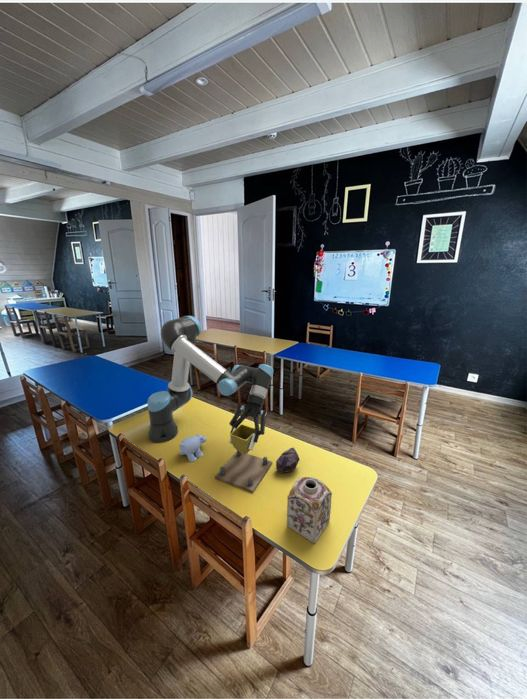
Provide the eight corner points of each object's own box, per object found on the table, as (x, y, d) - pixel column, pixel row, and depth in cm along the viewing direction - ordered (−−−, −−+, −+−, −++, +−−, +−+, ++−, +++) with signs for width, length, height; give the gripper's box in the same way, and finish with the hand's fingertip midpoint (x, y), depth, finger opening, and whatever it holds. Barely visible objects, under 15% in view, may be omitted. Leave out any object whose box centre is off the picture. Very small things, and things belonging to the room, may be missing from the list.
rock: (273, 471, 128) (291, 481, 122) (271, 457, 125) (289, 467, 119) (289, 455, 136) (306, 464, 130) (287, 441, 133) (305, 450, 126)
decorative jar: (330, 521, 103) (334, 481, 97) (315, 545, 94) (318, 503, 88) (302, 504, 110) (303, 466, 104) (285, 525, 101) (286, 485, 95)
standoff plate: (214, 478, 123) (214, 470, 122) (237, 452, 139) (237, 445, 138) (253, 493, 115) (252, 484, 114) (272, 463, 131) (272, 456, 130)
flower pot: (246, 458, 118) (246, 440, 115) (230, 451, 122) (229, 434, 120) (258, 447, 125) (257, 429, 122) (242, 441, 129) (241, 424, 127)
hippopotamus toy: (212, 449, 142) (211, 433, 139) (188, 465, 131) (186, 448, 128) (199, 441, 148) (197, 425, 145) (174, 455, 137) (172, 439, 134)
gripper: (281, 404, 127) (266, 455, 118) (239, 395, 136) (223, 441, 127) (276, 398, 121) (260, 452, 112) (233, 389, 130) (215, 437, 121)
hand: (240, 446), depth 120 cm, fingers closed on flower pot, 9 cm apart
